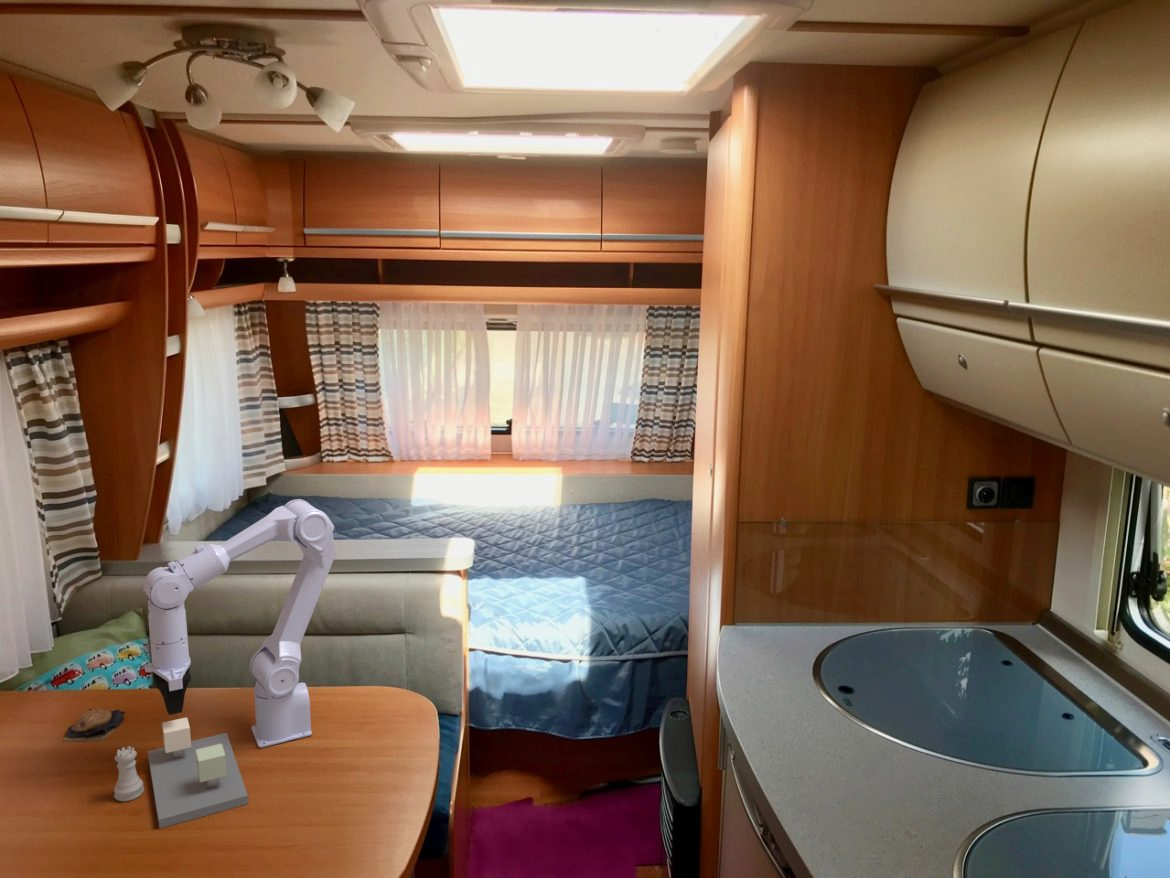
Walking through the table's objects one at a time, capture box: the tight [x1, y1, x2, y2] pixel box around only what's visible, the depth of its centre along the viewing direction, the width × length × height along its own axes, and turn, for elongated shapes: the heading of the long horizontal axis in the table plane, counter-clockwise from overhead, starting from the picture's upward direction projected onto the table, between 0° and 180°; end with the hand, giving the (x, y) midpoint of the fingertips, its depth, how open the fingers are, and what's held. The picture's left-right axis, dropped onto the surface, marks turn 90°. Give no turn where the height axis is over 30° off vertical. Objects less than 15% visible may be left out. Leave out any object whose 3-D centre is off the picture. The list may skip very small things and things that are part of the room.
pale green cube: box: [196, 744, 227, 782], centre depth 141 cm, size 4×4×4 cm
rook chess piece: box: [113, 745, 145, 803], centre depth 140 cm, size 4×4×8 cm
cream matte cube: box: [161, 717, 192, 753], centre depth 149 cm, size 4×4×4 cm
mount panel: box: [147, 732, 249, 829], centre depth 145 cm, size 13×22×4 cm, turn 31°
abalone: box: [62, 708, 126, 743], centre depth 161 cm, size 11×8×4 cm
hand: (174, 711), depth 148 cm, fingers closed
